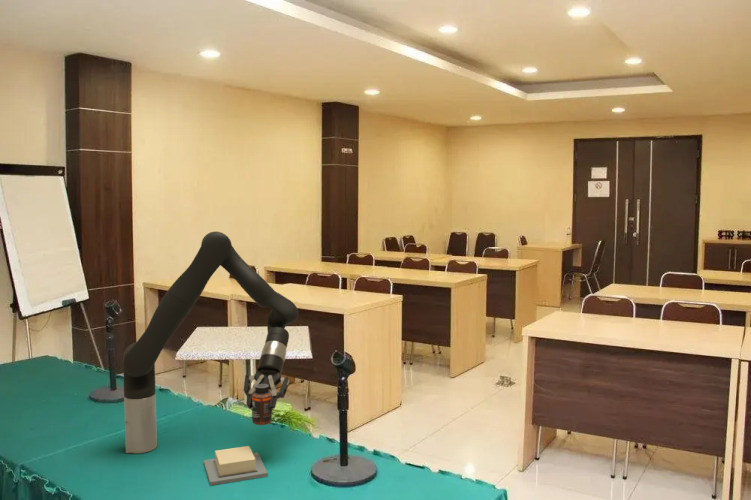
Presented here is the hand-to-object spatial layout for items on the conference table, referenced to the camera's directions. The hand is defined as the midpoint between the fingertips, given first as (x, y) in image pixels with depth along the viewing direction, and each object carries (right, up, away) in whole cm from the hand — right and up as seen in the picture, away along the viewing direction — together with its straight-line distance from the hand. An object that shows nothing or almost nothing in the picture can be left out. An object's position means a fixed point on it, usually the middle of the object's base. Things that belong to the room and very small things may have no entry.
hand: (260, 408), depth 188 cm
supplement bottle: (0, -5, +2) cm, 5 cm away
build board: (-7, -17, -4) cm, 19 cm away
